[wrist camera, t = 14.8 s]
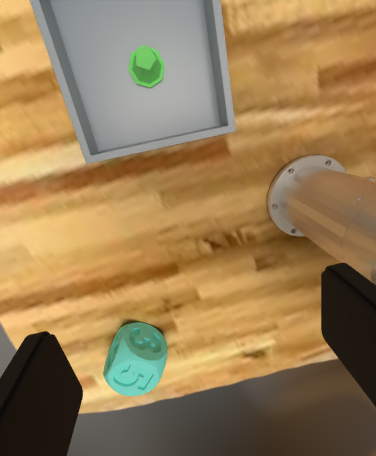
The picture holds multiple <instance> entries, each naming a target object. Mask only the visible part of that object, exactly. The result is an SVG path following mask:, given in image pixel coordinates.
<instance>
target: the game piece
mask: <svg viewBox="0 0 376 456" xmlns="http://www.w3.org/2000/svg"><path fill="white" fill-rule="evenodd" d="M164 67H165V64H164V62H163V60H162V58H161V56H160V54H159V52H158V50H156V49H153V48H150V47H149V46H144V45H143V46H141V47H140V48H138V49H137V50H135V51H134V52H133V53H131V56H130V62H129V69H128V70H129V72H130V73H131V75H132V77H133V78H134V80H135V82H136V83H137V85H141V86H144V87H148V88H152V87H153V86H155V85H156V84H158V83H159V82H161V81H162V78H163V72H164Z"/></svg>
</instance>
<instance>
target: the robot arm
mask: <svg viewBox="0 0 376 456" xmlns="http://www.w3.org/2000/svg"><path fill="white" fill-rule="evenodd" d="M289 169H290V171H289V172H288V170H289ZM273 204H274V205H273ZM272 205H273V206H272ZM267 207H268V212H269V215H270V217H271V219H272V221H273V222H274V224H275V225H276V226H277V227H278V228H279V229H280V230H282V231H283V232H285V233H287V234H289V235H292V236H299V237H303V236H306V237H307V238H309V239H310V240H311V241H313V242H314V243H315V244H316V245H318V246H319V247H320V248H322V249H323V250H324V251H325V252H327V253H328V254H329V255H331V256H332V257H333V258H334V259H336V260H337V261H338V262H340V263H339V264H335V265H330V266H327V267H326V269H325V271H324V272H322V275H321V330H322V335H323V337H324V339H325V341H326V342H327V344H328V345H329V346H330V347H331V349H332V350H333V351H334V353H335V354H336V355H337V357H338V358H339V359H340V361H341V362H342V363H343V365H344V366H345V367H346V368H347V370H348V371H349V372H350V374H351V375H352V376H353V378H354V379H355V380H356V381H357V383H358V384H359V386H360V387H361V388H362V389H363V391H364V392H365V393H366V394H367V396H368V397H369V399H370V400H371V401H372V403H373V404H374V405H375V407H376V182H375V181H374V178H373V177H366V178H361V177H357V176H354V175H350V174H347V172H346V170H345V168H344V167H343V166H342V165H341V164H340V163H339V162H338V161H336V160H335V159H333V158H331V157H327V156H324V155H307V156H302V157H300V158H298V159H295V160H293V161H292V162H290V163H289V164H287V165H286V166H285V167H284V168H283V169H282V170H281V171H280V172H279V173H278V174H277V176H276V177H275V179H274V181H273V182H272V184H271V187H270V190H269V192H268V199H267ZM82 397H83V390H82V386H81V384H80V382H79V381H78V379H77V377H76V375H75V373H74V371H73V369H72V367H71V365H70V363H69V361H68V360H67V358H66V356H65V354H64V352H63V350H62V348H61V346H60V344H59V342H58V340H57V339H56V337H55V335H53V334H51V335H50V333H49V332H47V331H44V332H40V333H36V334H31V335H28V336H27V337H26V338H25V339H24V341H23V342H22V344H21V346H20V347H19V349H18V350H17V352H16V354H15V355H14V357H13V359H12V360H11V362H10V363H9V365H8V367H7V368H6V370H5V372H4V373H3V375H2V376H1V378H0V456H67V452H68V448H69V444H70V441H71V438H72V434H73V430H74V427H75V423H76V419H77V416H78V412H79V409H80V405H81V401H82Z"/></svg>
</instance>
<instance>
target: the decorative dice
mask: <svg viewBox="0 0 376 456" xmlns="http://www.w3.org/2000/svg"><path fill="white" fill-rule="evenodd" d="M166 359H167V343H166V341H165V338H164V337H163V335H162V334H161V333H160V332H159V331H158V330H157V329H156V328H154V327H153V326H151V325H149V324H146V323H141V322H136V323H130V324H127V325H124V326H122V327H121V328H120V329H119V330H118V332H117V334H116V336H115V338H114V340H113V342H112V345H111V347H110V350H109V353H108V356H107V359H106V362H105V366H104V373H103V375H104V378H105V380H106V381H107V383H108V384H109V386H110V387H111V388H112V389H113V390H115V391H116V392H118V393H120V394H122V395H127V396H138V395H142V394H145V393H147V392H149V391H151V390H152V389H153V388H155V387H156V385H157V384H158V382H159V381H160V379H161V376H162V374H163V371H164V368H165V364H166Z"/></svg>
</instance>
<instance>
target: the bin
mask: <svg viewBox="0 0 376 456" xmlns="http://www.w3.org/2000/svg"><path fill="white" fill-rule="evenodd" d="M30 2H31V5H32V8H33V11H34V14H35V17H36V20H37V23H38V25H39V28H40V31H41V34H42V37H43V40H44V43H45V46H46V49H47V52H48V54H49V57H50V60H51V63H52V66H53V69H54V72H55V75H56V78H57V80H58V83H59V86H60V89H61V92H62V95H63V98H64V101H65V104H66V107H67V109H68V112H69V115H70V118H71V121H72V124H73V127H74V130H75V133H76V136H77V138H78V141H79V144H80V147H81V150H82V153H83V156H84V159H85V162H86V164H89V163H94V162H98V161H103V160H107V159H112V158H116V157H121V156H126V155H130V154H135V153H139V152H144V151H149V150H153V149H158V148H162V147H167V146H171V145H176V144H181V143H185V142H190V141H194V140H199V139H204V138H208V137H213V136H217V135H222V134H226V133H231V132H236V127H235V119H234V111H233V102H232V94H231V85H230V77H229V69H228V60H227V52H226V44H225V35H224V27H223V18H222V10H221V2H220V0H30ZM143 45H144V46H149V47H150V48H153V49H156V50H158V52H159V54H160V56H161V58H162V60H163V62H164V64H165V67H164V72H163V78H162V81H161V82H159V83H158V84H156V85H155V86H153V87H152V88H148V87H144V86H141V85H137V83H136V82H135V80H134V78H133V77H132V75H131V73H130V72H129V70H128V69H129V62H130V56H131V53H133V52H134V51H135V50H137V49H138V48H140V47H141V46H143Z"/></svg>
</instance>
